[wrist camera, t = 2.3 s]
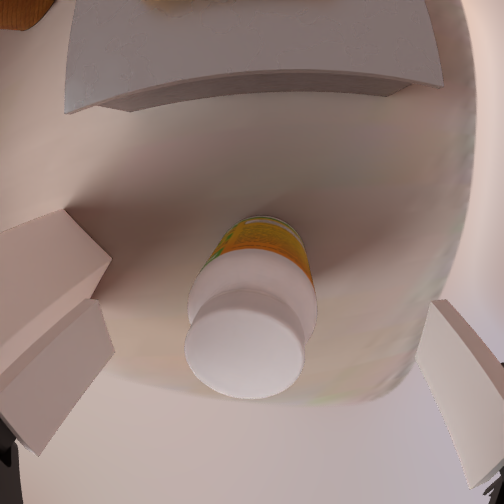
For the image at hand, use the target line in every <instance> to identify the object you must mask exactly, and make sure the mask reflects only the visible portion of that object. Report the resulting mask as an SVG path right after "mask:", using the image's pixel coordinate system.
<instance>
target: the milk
mask: <svg viewBox="0 0 504 504" xmlns="http://www.w3.org/2000/svg"><path fill="white" fill-rule="evenodd" d="M111 260H112V258H111V257H110V256H109V255H108V254H107V253H106V252H105V251H104V250H103V249H102V248H101V247H100V246H99V245H98V244H97V243H96V242H95V241H94V240H93V239H92V238H91V237H90V236H89V235H88V234H87V233H86V232H85V231H84V230H83V229H82V228H81V227H80V226H79V225H78V224H77V223H76V222H75V221H74V220H73V219H72V218H71V217H70V216H69V214H68V213H67V212H66V211H65V210H64V209H61V210H58V211H55V212H52V213H49V214H47V215H44V216H41V217H39V218H36V219H33V220H31V221H28V222H26V223H23V224H21V225H18V226H16V227H13V228H11V229H9V230H6V231H4V232H2V233H0V375H1V374H2V373H3V372H4V371H5V370H6V369H7V368H8V367H9V366H10V365H11V364H12V363H13V362H14V361H15V360H16V359H17V358H18V357H19V356H20V355H21V354H22V353H23V352H24V351H26V350H27V349H28V348H29V347H30V346H31V345H32V344H33V343H34V342H35V341H36V340H38V339H39V338H40V337H41V336H42V335H43V334H44V333H45V332H47V331H48V330H49V329H50V328H51V327H52V326H53V325H54V324H56V323H57V322H58V321H59V320H60V319H61V318H63V317H64V316H65V315H66V314H67V313H68V312H70V311H71V310H72V309H73V308H74V307H76V306H77V305H78V304H79V303H80V302H82V301H83V300H84V299H85V298H86V299H90V298H91V296H92V294H93V292H94V290H95V288H96V287H97V285H98V283H99V281H100V279H101V278H102V276H103V274H104V272H105V271H106V269H107V267H108V265H109V264H110V262H111Z"/></svg>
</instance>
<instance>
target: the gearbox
mask: <svg viewBox="0 0 504 504" xmlns="http://www.w3.org/2000/svg"><path fill="white" fill-rule="evenodd" d="M413 83H414V84H419V85H424V86H429V87H433V88H437V89H440V88H443V87H444V82H443V76H442V70H441V64H440V59H439V54H438V49H437V44H436V40H435V36H434V32H433V28H432V24H431V21H430V17H429V14H428V10H427V7H426V4H425V1H424V0H77V1H76V6H75V10H74V16H73V21H72V27H71V33H70V40H69V47H68V56H67V66H66V80H65V109H64V114H73V113H76V112H79V111H81V110H84V109H87V108H90V107H93V106H102V107H107V108H112V109H117V110H122V111H127V112H133V111H137V110H141V109H146V108H150V107H155V106H160V105H165V104H170V103H175V102H181V101H187V100H194V99H200V98H208V97H216V96H225V95H234V94H246V93H261V92H287V91H316V92H341V93H356V94H367V95H377V96H385V97H387V96H389V95H391V94H393V93H395V92H397V91H399V90H401V89H403V88H405V87H407V86H409V85H411V84H413Z"/></svg>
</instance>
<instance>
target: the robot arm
mask: <svg viewBox="0 0 504 504" xmlns="http://www.w3.org/2000/svg"><path fill="white" fill-rule="evenodd" d="M114 353H115V350H114V347H113V344H112V341H111V338H110V336H109V333H108V330H107V327H106V324H105V321H104V318H103V314H102V311H101V308H100V304H99V301H98V300H96V299H86V298H85V299H84V300H83V301H82V302H80V303H79V304H78V305H77V306H76V307H74V308H73V309H72V310H71V311H70V312H68V313H67V314H66V315H65V316H64V317H63V318H61V319H60V320H59V321H58V322H57V323H56V324H54V325H53V326H52V327H51V328H50V329H49V330H48V331H47V332H45V333H44V334H43V335H42V336H41V337H40V338H39V339H38V340H36V341H35V342H34V343H33V344H32V345H31V346H30V347H29V348H28V349H27V350H26V351H24V352H23V353H22V354H21V355H20V356H19V357H18V358H17V359H16V360H15V361H14V362H13V363H12V364H11V365H10V366H9V367H8V368H7V369H6V370H5V371H4V372H3V373H2V374H1V375H0V504H23V500H22V491H21V483H20V472H19V457H18V447H17V444H16V443H15V442H14V441H15V440H16V438H17V439H18V440H19V441H20V443H21V444H22V445H23V446H24V447H25V448H26V449H27V450H29V451H30V452H32V453H33V454H35V455H36V456H38V457H39V456H40V454H41V453H42V451H43V450H44V448H45V447H46V445H47V444H48V442H49V441H50V440H51V438H52V437H53V435H54V434H55V432H56V431H57V429H58V428H59V427H60V425H61V424H62V423H63V421H64V420H65V418H66V417H67V415H68V414H69V413H70V411H71V410H72V408H73V407H74V406H75V405H76V403H77V402H78V400H79V399H80V398H81V396H82V395H83V394H84V392H85V391H86V390H87V388H88V387H89V386H90V384H91V383H92V382H93V380H94V379H95V378H96V377H97V375H98V374H99V373H100V371H101V370H102V369H103V367H104V366H105V365H106V364H107V362H108V361H109V360H110V358H111V357H112V356H113V355H114ZM415 360H416V362H417V364H418V366H419V368H420V370H421V372H422V374H423V376H424V378H425V380H426V382H427V384H428V386H429V388H430V391H431V393H432V395H433V397H434V399H435V401H436V404H437V406H438V408H439V410H440V413H441V415H442V417H443V419H444V422H445V424H446V427H447V429H448V431H449V434H450V436H451V439H452V441H453V444H454V446H455V449H456V451H457V454H458V457H459V460H460V462H461V465H462V468H463V471H464V474H465V477H466V480H467V483H468V486H469V489H472V488H475V487H477V486H479V485H481V484H483V483H485V482H487V481H489V480H490V479H491V478H492V477H493V476H494V475H495V474H496V473H497V472H498V471H500V474H501V476H500V477H499V478H498V479H497V480H496V481H495V482H494V483H492V484H491V485H490V486H489V487H488V488H487V489H486V490H485V492H484V494H483V495H486V494H487V493H489V492H490V491H491V490H492V489H493V488H494V490H493V492H492V493H491V494H490V495H489V496H491V499H490V501H489V504H504V363H500V362H499V361H498V360H497V358H496V357H495V356H494V355H493V354H492V352H491V351H490V349H489V348H488V347H487V346H486V344H485V343H484V342H483V341H482V339H481V338H480V337H479V336H478V335H477V333H476V332H475V331H474V330H473V329H472V328H471V327H470V325H469V324H468V323H467V322H466V321H465V320H464V318H463V317H462V316H461V315H460V314H459V313H458V312H457V311H456V309H455V308H454V307H453V306H452V305H451V304H450V303H449V302H448V301H447V300H446V299H445V300H435V301H430V306H429V310H428V314H427V318H426V322H425V325H424V329H423V332H422V336H421V339H420V343H419V346H418V349H417V352H416V355H415Z"/></svg>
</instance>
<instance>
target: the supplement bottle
mask: <svg viewBox="0 0 504 504" xmlns="http://www.w3.org/2000/svg"><path fill="white" fill-rule="evenodd" d="M188 317H189V322H190V325H191V326H190V328H189V331H188V333H187V336H186V339H185V346H184V350H185V356H186V360H187V362H188V365H189V367H190V368H191V370H192V371H193V373H194V374H195V375H196V377H197V378H199V379H200V380H201V381H202V382H203V383H204V384H205V385H207V386H208V387H210V388H211V389H213V390H215V391H217V392H219V393H222V394H225V395H227V396H231V397H235V398H242V399H258V398H266V397H269V396H273V395H275V394H278V393H280V392H282V391H284V390H286V389H287V388H288V387H290V386H291V385H292V384H293V383H294V382H295V381H296V380H297V379H298V377H299V376H300V374H301V372H302V370H303V367H304V363H305V344H306V343H307V342H308V340H309V339H310V337H311V335H312V333H313V331H314V328H315V325H316V321H317V299H316V294H315V289H314V285H313V281H312V276H311V272H310V268H309V264H308V259H307V254H306V251H305V247H304V244H303V242H302V240H301V238H300V236H299V235H298V233H297V232H296V231H295V230H294V229H293V228H292V227H291V226H290V225H289V224H287V223H286V222H284V221H282V220H280V219H277V218H274V217H270V216H254V217H249V218H246V219H243V220H241V221H239V222H238V223H236V224H235V225H233V226H232V227H231V228H230V229H229V230H228V231H227V233H226V234H225V235H224V237H223V238H222V240H221V241H220V243H219V244H218V246H217V247H216V249H215V250H214V252H213V253H212V255H211V256H210V258H209V259H208V261H207V262H206V264H205V265H204V267H203V268H202V270H201V271H200V273H199V274H198V276H197V277H196V279H195V281H194V283H193V285H192V287H191V290H190V293H189V297H188Z"/></svg>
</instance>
